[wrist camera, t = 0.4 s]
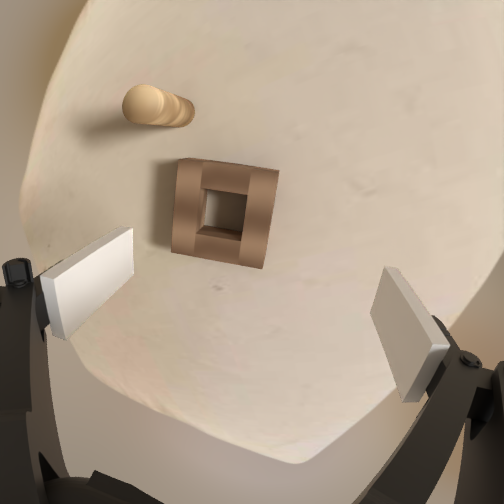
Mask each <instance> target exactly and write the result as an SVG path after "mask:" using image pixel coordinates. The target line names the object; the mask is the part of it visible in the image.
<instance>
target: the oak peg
mask: <svg viewBox="0 0 504 504" xmlns="http://www.w3.org/2000/svg"><path fill="white" fill-rule="evenodd" d="M122 109H123V113H124V116H125V117H126V118H127V119H128V120H129V121H130V122H133V123H139V124H152V125H163V126H172V127H184V126H186V125H188V124H189V123H190V122H191V121H192V120H193V118H194V114H195V109H194V106H193V104H192V103H191V102H190V101H189V100H187V99H185V98H182V97H179V96H177V95H174V94H171V93H169V92H166V91H163V90H160V89H157V88H155V87H152V86H149V85H145V84H141V85H137V86H134V87H133V88H131V89H130V90H129V91H128V92H127V94H126V95H125V97H124V100H123V104H122Z"/></svg>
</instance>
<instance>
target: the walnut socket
mask: <svg viewBox="0 0 504 504" xmlns="http://www.w3.org/2000/svg"><path fill="white" fill-rule="evenodd" d="M278 177H279V170H274V169H267V168H261V167H255V166H248V165H242V164H235V163H227V162H220V161H212V160H204V159H195V158H184V159H179V160H178V170H177V180H176V190H175V202H174V215H173V229H172V245H171V252H172V253H177V254H183V255H188V256H193V257H199V258H204V259H209V260H215V261H220V262H225V263H231V264H236V265H242V266H247V267H253V268H258V269H262V268H263V264H264V259H265V254H266V248H267V242H268V237H269V231H270V225H271V219H272V213H273V207H274V201H275V195H276V189H277V183H278ZM208 189H212V190H219V191H226V192H232V193H238V194H245V195H248V197H247V204H246V211H245V218H244V225H243V232H240V231H234V230H229V229H223V228H217V227H211V226H205V225H204V219H205V210H206V201H207V192H208Z"/></svg>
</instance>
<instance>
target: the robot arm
mask: <svg viewBox="0 0 504 504" xmlns="http://www.w3.org/2000/svg"><path fill="white" fill-rule="evenodd" d="M2 269H3V274H4V279H5V283H6V287H2V286H0V504H164V503H162V502H160V501H158V500H157V499H155V498H153V497H151V496H150V495H148V494H146V493H144V492H143V491H141V490H139V489H138V488H136V487H134V486H133V485H131V484H128V483H125V482H123V481H120V480H117V479H115V478H112V477H110V476H108V475H105V474H102V473H100V472H98V471H96V470H95V471H94V472H93V474H92V476H91V477H90V478H84V477H70V476H69V474H68V472H67V469H66V467H65V463H64V460H63V455H62V451H61V446H60V442H59V437H58V432H57V427H56V421H55V415H54V409H53V402H52V395H51V388H50V378H49V368H48V355H47V339H46V332H45V327H46V326H47V325H49V324H50V326H51V330H52V334H53V336H55V337H58V338H61V339H63V340H67V339H68V338H69V337H70V336H71V335H72V334H73V333H74V332H75V331H76V330H77V329H78V328H79V327H80V326H81V325H82V324H83V323H84V322H85V321H86V320H87V319H88V318H89V317H90V316H91V315H92V314H93V313H94V312H95V311H96V310H97V309H98V308H99V307H100V306H101V305H102V304H103V303H104V302H105V301H107V300H108V299H109V298H110V297H111V296H112V295H113V294H114V293H115V292H116V291H117V290H118V289H119V288H120V287H121V286H122V285H123V284H124V283H125V282H126V281H127V280H129V279H130V278H131V277H132V276H133V275H134V266H133V227H126V226H119V227H118V228H116V229H114V230H112V231H111V232H109V233H107V234H105V235H104V236H102V237H100V238H99V239H97V240H95V241H94V242H92V243H90V244H89V245H87V246H85V247H84V248H82V249H80V250H79V251H77V252H75V253H74V254H72V255H71V256H69V257H67V258H66V259H64V260H61V261H60V262H58V263H56V264H55V265H54V266H52V267H50V268H49V269H48V270H46V271H44V272H43V273H41V274H40V275H38V276H36V277H35V278H33V274H32V268H31V262H30V260H29V259H26V258H16V259H12V260H9V261H7V262H6V263H4V264H3V266H2ZM370 314H371V317H372V319H373V322H374V324H375V327H376V330H377V332H378V335H379V338H380V340H381V343H382V346H383V348H384V351H385V354H386V357H387V359H388V362H389V365H390V368H391V371H392V374H393V376H394V379H395V382H396V385H397V388H398V391H399V394H400V398H401V401H402V402H419V401H420V399H421V398H422V396H423V394H424V393H425V391H426V392H427V394H428V397H429V399H428V400H427V402H426V403H425V405H424V406H423V408H422V410H421V411H420V413H419V414H418V416H417V417H416V420H415V421H414V423H413V424H412V426H411V427H410V429H409V431H408V432H407V434H406V435H405V437H404V438H403V440H402V441H401V443H400V444H399V445H398V447H397V448H396V450H395V451H394V452H393V454H392V455H391V456H390V458H389V459H388V461H387V462H386V463H385V464H384V466H383V467H382V468H381V470H380V471H379V473H378V474H377V475H376V476H375V477H374V479H373V480H372V481H371V482H370V484H369V485H368V486H367V487H366V488H365V489H364V491H363V492H362V493H361V494H360V495H359V497H358V498H357V499H356V500H355V501H354V502H353V503H352V504H425V503H426V502H427V500H428V498H429V497H430V495H431V493H432V491H433V489H434V488H435V486H436V484H437V482H438V480H439V478H440V476H441V474H442V472H443V470H444V468H445V466H446V464H447V462H448V460H449V458H450V456H451V454H452V451H453V449H454V447H455V445H456V442H457V440H458V437H459V435H460V432H461V430H462V428H463V425H464V423H465V432H464V442H463V452H462V460H461V467H460V474H459V480H458V486H457V491H456V497H455V501H454V504H504V361H500V362H499V363H498V365H497V366H496V368H495V370H494V371H493V370H489V369H485V368H482V363H481V361H480V359H479V358H477V356H475V355H474V354H472V353H470V352H467V351H463V350H460V349H459V347H458V345H457V344H456V342H455V341H454V339H453V338H452V336H450V333H449V332H448V330H446V327H445V326H444V324H443V323H442V322H441V321H440V320H439V319H438V318H436V317H435V316H433V315H430V313H429V312H428V310H427V309H426V307H425V306H424V304H423V303H422V301H421V300H420V299H419V297H418V296H417V294H416V293H415V292H414V290H413V289H412V287H411V286H410V285H409V283H408V282H407V280H406V279H405V278H404V276H403V275H402V274H401V272H400V271H399V270H398V268H393V267H386V266H384V269H383V273H382V276H381V279H380V283H379V286H378V289H377V293H376V296H375V299H374V302H373V305H372V308H371V311H370Z"/></svg>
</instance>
